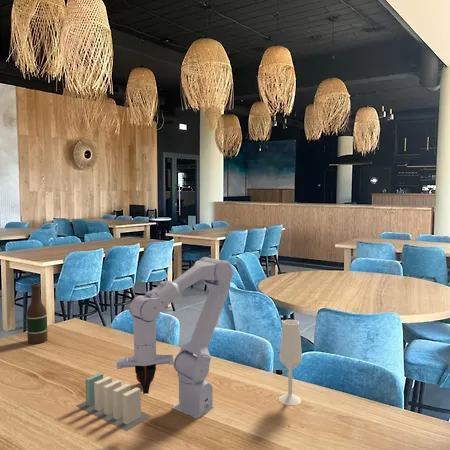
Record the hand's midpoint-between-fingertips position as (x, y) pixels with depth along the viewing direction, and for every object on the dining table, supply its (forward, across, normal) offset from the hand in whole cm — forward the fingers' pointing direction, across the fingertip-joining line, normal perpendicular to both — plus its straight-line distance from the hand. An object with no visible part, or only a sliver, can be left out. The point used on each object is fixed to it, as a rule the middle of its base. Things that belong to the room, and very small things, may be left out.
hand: (145, 392), depth 113 cm
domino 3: (+9, +9, -10) cm, 16 cm away
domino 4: (+9, +6, -7) cm, 13 cm away
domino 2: (+9, +12, -13) cm, 20 cm away
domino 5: (+9, +4, -4) cm, 11 cm away
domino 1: (+9, +14, -16) cm, 24 cm away
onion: (+10, -1, -25) cm, 27 cm away
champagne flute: (+10, -43, -6) cm, 44 cm away
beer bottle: (+10, +41, -76) cm, 87 cm away
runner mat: (+10, +9, -10) cm, 17 cm away
